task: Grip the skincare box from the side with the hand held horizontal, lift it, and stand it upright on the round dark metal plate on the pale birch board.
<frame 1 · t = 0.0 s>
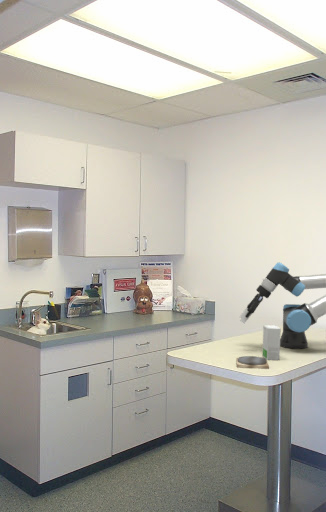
hand: (241, 320, 258), 15 cm above the table, tool tilted 35°, fingers open, 13 cm apart
skincare box: (271, 358, 237), on the table
rosette stand: (252, 364, 223), on the table
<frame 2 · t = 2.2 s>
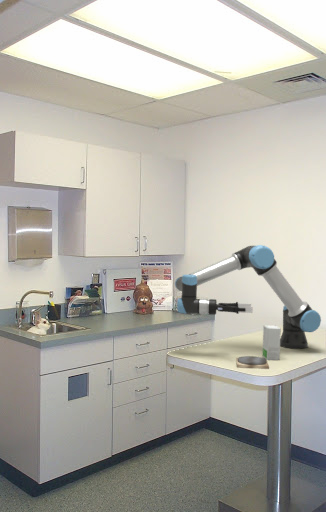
hand: (251, 308, 238), 24 cm above the table, tool horizontal, fingers open, 13 cm apart
nothing on the table moved.
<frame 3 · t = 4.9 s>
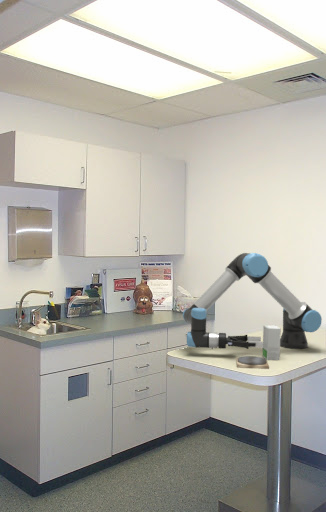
hand: (261, 342, 237), 8 cm above the table, tool horizontal, fingers open, 13 cm apart
nothing on the table moved.
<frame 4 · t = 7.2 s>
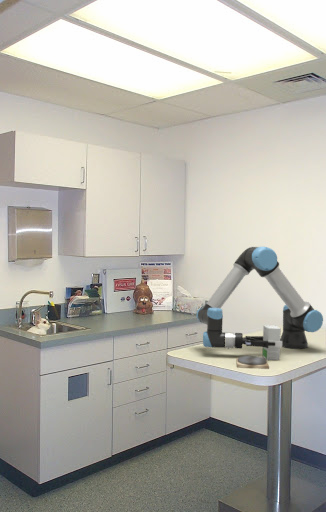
hand: (281, 342, 236), 8 cm above the table, tool horizontal, fingers closed on skincare box, 9 cm apart
skincare box: (271, 358, 237), on the table, touching gripper
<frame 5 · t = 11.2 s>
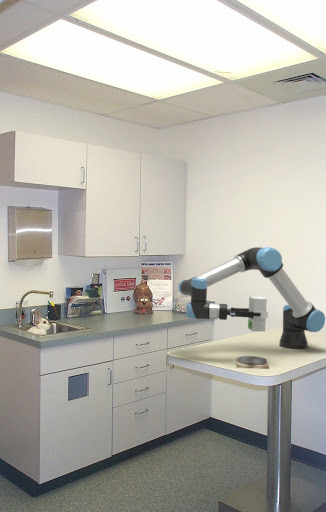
hand: (267, 313, 227), 23 cm above the table, tool horizontal, fingers closed on skincare box, 9 cm apart
skincare box: (256, 330, 228), point 15 cm above the table, touching gripper
when the fingers open (11 cm above the table, at t = 15.2 s): skincare box moves 1 cm, resting on rosette stand.
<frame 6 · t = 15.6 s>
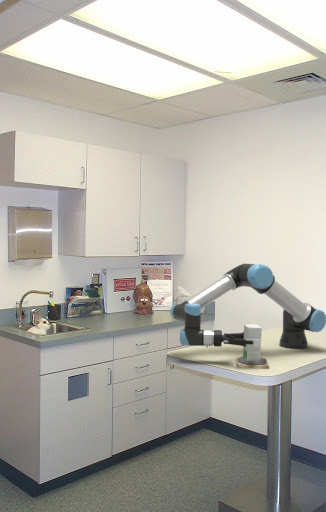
hand: (259, 339, 223), 11 cm above the table, tool horizontal, fingers open, 13 cm apart
skincare box: (251, 359, 223), point 2 cm above the table, touching rosette stand
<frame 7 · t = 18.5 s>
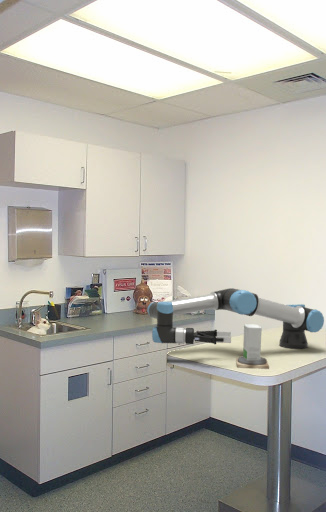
hand: (230, 337, 225), 12 cm above the table, tool horizontal, fingers open, 13 cm apart
nothing on the table moved.
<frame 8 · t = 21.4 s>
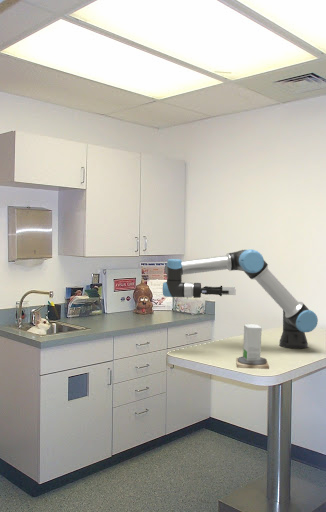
hand: (235, 291, 244), 32 cm above the table, tool horizontal, fingers open, 13 cm apart
nothing on the table moved.
at the end: skincare box inside the target area on the rosette stand (0.1 cm from its centre), point 2.2 cm above the rosette stand's base; skincare box tilted 0°; the gripper is holding nothing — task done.
